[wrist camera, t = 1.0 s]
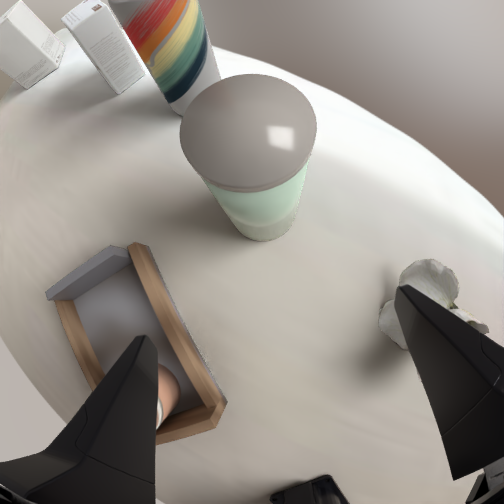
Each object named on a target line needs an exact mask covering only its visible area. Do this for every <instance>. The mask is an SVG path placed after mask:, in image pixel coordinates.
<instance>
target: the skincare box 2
mask: <svg viewBox="0 0 504 504" xmlns="http://www.w3.org/2000/svg"><path fill="white" fill-rule="evenodd" d="M61 21H62V22H63V23H64V24H65V26H66V27H67V28H68V30H69V31H70V32H71V34H72V35H73V37H74V38H75V39H76V41H77V42H78V44H79V45H80V47H81V48H82V49H83V51H84V52H85V53H86V55H87V56H88V58H89V59H90V60H91V62H92V63H93V64H94V66H95V67H96V68H97V70H98V71H99V72H100V74H101V75H102V76H103V77H104V79H105V80H106V81H107V83H108V84H109V85H110V86H111V88H112V89H113V90H114V91H115V92H116V93H117V94H120V93H122V92H123V91H124V90H126V89H127V88H128V87H130V86H131V85H132V84H134V83H135V82H136V81H137V80H139V79H140V78H141V77H142V76H144V75H145V72H144V70H143V68H142V66H141V64H140V63H139V61H138V59H137V57H136V55H135V54H134V52H133V50H132V48H131V47H130V45H129V43H128V41H127V39H126V38H125V36H124V34H123V32H122V30H121V29H120V27H119V25H118V23H117V21H116V20H115V18H114V16H113V14H112V13H111V11H110V9H109V7H108V6H107V5H106V4H104V3H103V2H101V1H100V0H84V1H83V2H82V3H80V4H79V5H78V6H76V7H75V8H74V9H72V10H71V11H70V12H68V13H67V14H66V15H65V16H64V17H63V18H61Z"/></svg>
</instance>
